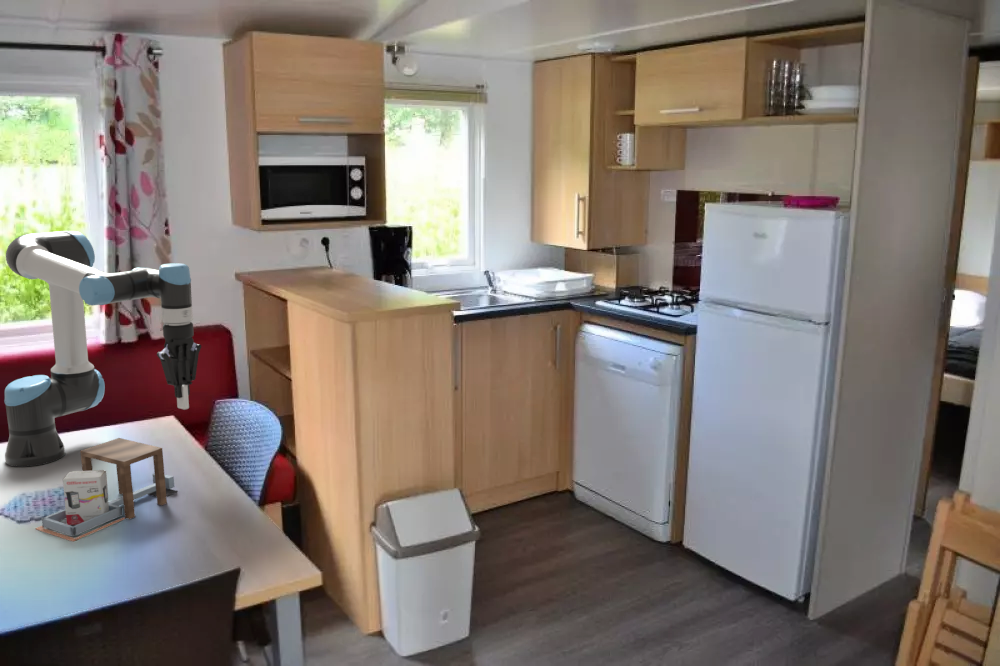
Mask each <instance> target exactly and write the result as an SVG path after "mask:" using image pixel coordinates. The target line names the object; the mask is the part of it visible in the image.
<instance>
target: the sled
mask: <svg viewBox="0 0 1000 666" xmlns="http://www.w3.org/2000/svg"><path fill="white" fill-rule="evenodd" d="M164 474H165V473H164ZM152 481H153V483H151V484H149V485H147V486H145V487H142V488H139V489H137V490H134V491H133V499H134V501H135V500H137V499H140V498H143V497H145V496H147V495H148V494H149V493H152V492H154V491H156V484H155V473H152ZM165 486H166V488H167V489H173V488H175V477H174V476H173V475H170V474H167V473H166V474H165ZM108 502H109V512H106V513H104V514H101V515H99V516H97V517H94V518H92V519H89V520H87V521H85V522H82V523H80V524H77V525H68V524H67V523H64V522H61V521H63V520H65V519H66V509H65V508H64V509H62V510H59V511H57V512H55V513H52V514H49V515H47V516H44V517H41V526H43V527H44V528H45V529H48V530H51V531H54V532H57V533H60V534H63V535H66V536H69V537H75V536H78V535H79V534H82V533H86V532H88V531H89V530H91V529H92V530H93V528H94V529H95V528H96V527H99V526H101V525H103V524H105V523H108V522H110V521H112V520H113V521H114V519H117V518H119V517H120V518H121V517H123V515H124V511H123V510H124V507H123V506H124V502H123V495H122V496H119V497H117V498H115V499H112V500H109V501H108ZM58 521H59V522H58Z"/></svg>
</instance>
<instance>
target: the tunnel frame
mask: <svg viewBox="0 0 1000 666" xmlns="http://www.w3.org/2000/svg"><path fill="white" fill-rule="evenodd" d="M151 457H152V459H153V460H152V461H153V469H154V474H155V484H156V495H157V497H156V504H157V505H159V506H163V505H166V504H168V500H167V497H166V486H165V466H164V465H165V464H164V452H163V447H160V446H155V445H152V444H151V445H150V444H147V443H143V442H138V441H134V440H130V439H124V438H122V437H121V438H120V437H118V438H115V439H111V440H109V441H106V442H102V443H99V444H97V445H94V446H90V447H88V448H85V449H82V450H80V460H81V469H82V470H81V471H93V462H92V461H93V460H97V461H100V462H101V461H102V462H105V463H109V464H113V465H115V466H116V467H115V468H116V475H117V477H116V478H117V487H118V494H119V495H122V496H123V502H124V504H123V510H124V511H123V513H124V518H125V519H127V520H131V519H133V518H136V512H135V511H136V509H135V500H134V499H133V492H134V491H133V481H132V480H133V479H132V469H131V465H133V464H135V463H137V462H141V461H143V460H146V459H148V458H149V459H150V458H151ZM92 459H93V460H92Z"/></svg>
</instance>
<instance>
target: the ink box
mask: <svg viewBox="0 0 1000 666" xmlns="http://www.w3.org/2000/svg"><path fill="white" fill-rule="evenodd" d="M92 470H93V469H92ZM62 483H63V484H62V485H63V497H64V498H63V499H64V505H65V506H64V507H65V508H64V509H66V524H68V525H71V526H75V525H77V524H80V523H82V522H85V521H87V520H89V519H92V518H94V517H97V516H99V515H101V514H104V513H106V512H109V502H110V501H109V490H108V476H107V470H104V469H99V470H98V469H97V470H93V471H82V470H73V471H69V472H68V473H67V474H66V475H65V476H64V477H63V478H62Z"/></svg>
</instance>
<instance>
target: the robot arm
mask: <svg viewBox="0 0 1000 666" xmlns="http://www.w3.org/2000/svg"><path fill="white" fill-rule="evenodd" d="M95 255H96V254H95V250H94V247H93V245H92V242H91V241H90V240H89V239H88V238H87V236H86V235H85V234H84V233H82V232H80V231H76V230H60V231H58V230H57V231H48V232H47V231H46V232H39V233H26V234H23V235H20V236H17V237H16V238H15V239H13V240H12V241H11V242H10V243H9V244H8V246H7V249H6V252H5V261H6V263H7V265H8V267H9V269H10V270H11V271H12V272H13V273H15V274H17V275H18V276H20V277H23V278H25V279H28V280H38V279H39V280H42V281H44V282H45V283H47V284H48V289H49V300H50V311H51V324H52V332H53V335H52V336H53V347H54V357H55V358H54V359H55V364H54V365H53V366H52V367H51V368H50V375H51V376H50V377H49V376H48V375H45V374H35V375H32V376H30V375H29V376H24V377H22V378H17V379H15V380H13V381H11V382H10V383H8V384H7V386H6V387H5V389H4V400H3V401H4V404H5V409H6V417H7V418H6V419H7V424H8V434H9V437H8V441H7V445H6V449H5V453H4V459H5V464H6V465H8V466H11V467H16V468H17V467H19V468H20V467H22V468H23V467H34V466H35V467H36V466H40V465H45V464H49V463H52V462H56V461H57V460H60V459H61V458H63V457H64V456H65V454H66V449H65V445H64V443H63V441H62V439H61V437H60V435H59V433H58V431H57V429H56V423H55V422H56V421H55V418H59V417H63V416H66V415H70V414H73V413H77V412H83V411H86V410H88V409H91V408H94V407H96V406H98V405H99V404H100V402H102V400H103V398H104V395H105V391H106V390H105V388H106V387H105V385H106V384H105V381H104V380H105V379H104V378H103V375H102V374H101V372H100V371H99V370H97V369H96V368H95V366H94V365H95V364H93V363H92V362H90V361H89V353H88V343H87V340H88V339H87V331H86V318H85V315H86V314H85V305H84V303H85V304H86V305H88V306H105V305H108V304H113V303H120V302H127V301H134V300H138V299H139V300H140V299H146V298H155V299H160V303H161V305H160V306H161V321H162V323H163V324H162V335H163V338H164V340H165V342H164V344H163V347H164V348H163V349H162V350H161V351H158V352H157V353H156V356H157V357H158V358H159V360H160V362H161V367H162V370H163V373H164V376H165V380H166V383H167V385H170V386H173V389H174V397H175V398H176V405H177V408H178V409H181V410H184V411H185V410H188V409H189V408H190V404H189V402H190V401H189V396H190V395H191V394H190V392H191V389H190V385H192V384H193V381H195V380H196V377H197V369H198V360H199V355H200V352H201V349H202V345H201V344H200V343H199V344H198V343H196V342H195V341H194V338H193V337H194V335H195V334H194V331H195V330H194V323H193V322H192V321H193V320H194V318H193V315H194V314H193V303H192V300H193V299H192V298H193V297H192V278H191V271H190V266H188V265H187V264H185V263H179V262H178V263H176V262H175V263H174V262H173V263H170V262H169V263H163V264H161V265H160V266H159V267H158V269H155V268H150V267H147V266H145V267H135V268H133V269H131V270H128V271H121V272H105V271H102V270H99V269H97V268H94V267H93V266H94V264H95V261H96V256H95Z"/></svg>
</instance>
